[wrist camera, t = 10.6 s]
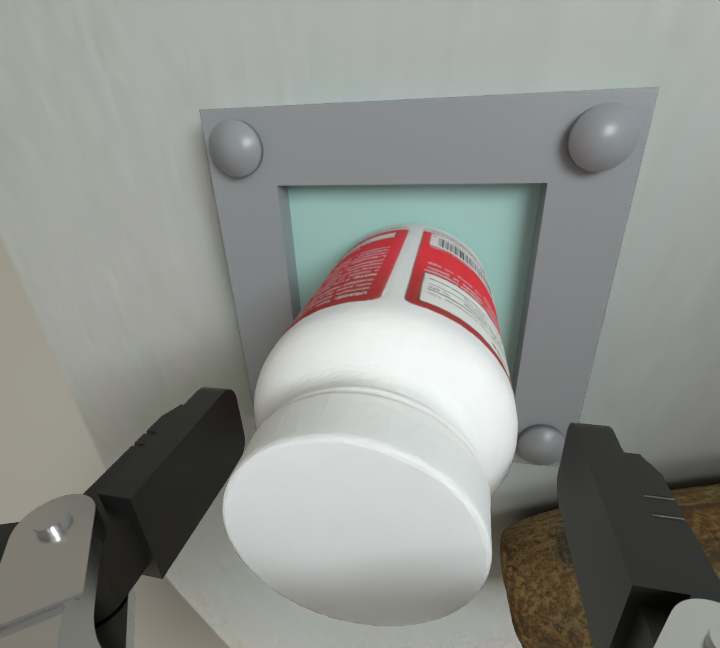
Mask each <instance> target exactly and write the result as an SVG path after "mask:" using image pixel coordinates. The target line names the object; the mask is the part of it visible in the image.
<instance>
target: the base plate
mask: <svg viewBox="0 0 720 648" xmlns="http://www.w3.org/2000/svg"><path fill="white" fill-rule="evenodd" d="M658 91H659V87H644V88H624V89H604V90H584V91H564V92H544V93H524V94H504V95H484V96H464V97H444V98H424V99H404V100H384V101H364V102H344V103H324V104H304V105H284V106H264V107H244V108H224V109H204V110H199V112H200V117H201V123H202V128H203V134H204V139H205V145H206V150H207V155H208V161H209V166H210V172H211V177H212V183H213V188H214V194H215V199H216V205H217V210H218V216H219V221H220V227H221V232H222V238H223V243H224V249H225V254H226V260H227V265H228V270H229V276H230V281H231V287H232V292H233V298H234V303H235V309H236V314H237V320H238V325H239V331H240V336H241V342H242V347H243V353H244V358H245V364H246V369H247V375H248V380H249V385H250V391H251V396H252V402H253V407H254V396H255V389H256V385H257V381H258V378H259V375H260V371H261V369H262V367H263V364H264V363H265V361H266V359H267V357H268V356H269V354H270V352H271V351H272V349H273V348H274V346H275V345H276V343H277V342H278V341H279V339H280V338H281V336H282V335H283V334H284V332H285V331H286V330H287V329H288V327H289V326H290V325H291V323H292V322H293V321H294V319H295V318H296V317H297V316H298V314H299V313H300V312H301V311H302V309H303V308H304V307H305V305H306V304H307V303H308V301H309V300H310V299H311V297H312V296H313V295H314V294H315V292H316V291H317V290H318V288H319V287H320V286H321V284H322V283H323V282H324V281H325V279H326V278H327V277H328V275H329V274H330V273H331V271H332V270H333V269H334V268H335V266H336V265H337V264H338V262H339V261H340V260H341V259H342V257H343V256H344V255H345V254H346V253H347V252H348V250H349V249H350V248H351V247H352V246H353V245H355V244H356V243H357V242H358V241H359V240H361V239H362V238H363V237H365V236H366V235H368V234H370V233H372V232H374V231H376V230H378V229H381V228H384V227H388V226H392V225H397V224H422V225H427V226H432V227H436V228H438V229H441V230H444V231H446V232H448V233H450V234H451V235H453V236H455V237H456V238H458V239H459V240H461V241H462V242H463V243H464V244H465V245H466V246H468V247H469V248H470V249H471V250H472V252H473V253H474V254H475V255H476V256H477V258H478V259H479V261H480V262H481V264H482V266H483V268H484V270H485V272H486V275H487V277H488V281H489V284H490V287H491V291H492V295H493V300H494V303H495V309H496V314H497V319H498V324H499V328H500V334H501V339H502V343H503V347H504V352H505V357H506V361H507V366H508V370H509V375H510V380H511V384H512V388H513V392H514V399H515V405H516V412H517V419H518V434H517V444H516V449H515V453H514V457H513V460H512V462H519V463H527V464H535V465H545V466H553V467H560V462H561V457H562V452H563V447H564V443H565V438H566V433H567V429H568V426H569V424H570V423H579V418H580V414H581V410H582V406H583V402H584V398H585V394H586V389H587V385H588V381H589V377H590V373H591V369H592V365H593V360H594V356H595V352H596V348H597V344H598V340H599V335H600V331H601V327H602V323H603V319H604V315H605V311H606V306H607V302H608V298H609V294H610V290H611V286H612V282H613V277H614V273H615V269H616V265H617V261H618V257H619V253H620V248H621V244H622V240H623V236H624V232H625V228H626V223H627V219H628V215H629V211H630V207H631V203H632V199H633V194H634V190H635V186H636V182H637V178H638V174H639V170H640V165H641V161H642V157H643V153H644V149H645V145H646V140H647V136H648V132H649V128H650V124H651V120H652V116H653V111H654V107H655V103H656V99H657V95H658Z"/></svg>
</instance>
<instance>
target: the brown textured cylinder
mask: <svg viewBox="0 0 720 648" xmlns="http://www.w3.org/2000/svg"><path fill="white" fill-rule="evenodd" d="M670 491H671V493H672V495H673V496H674V502H677V504H678V506H679V507H680V509H681V511H682V513H683V515H684V516H685V522H688V524H689V525H690V527H691V529H692V531H693V533H694V535H695V536H696V538H697V540H698V542H699V544H700V545H701V547H702V549H703V551H704V553H705V555H706V556H707V558H708V560H709V562H710V564H711V565H712V567H713V569H714V571H715V573H716V575H717V576H718V578H719V580H720V484H715V485H708V486H698V487H691V488H682V489H674V490H670ZM500 557H501V566H502V574H503V579H504V584H505V588H506V592H507V598H508V603H509V608H510V613H511V618H512V623H513V626H514V630H515V632H516V635H517V637H518V639H519V641H520V642H521V645H522V647H523V648H593V644H592V640H591V636H590V632H589V628H588V624H587V619H586V615H585V611H584V607H583V603H582V599H581V595H580V591H579V587H578V582H577V578H576V574H575V570H574V566H573V562H572V558H571V554H570V549H569V545H568V541H567V537H566V533H565V529H564V525H563V521H562V517H561V512H560V508H559V509H555V510H551V511H548V512H544V513H541V514H537V515H534V516H532V517H529V518H526V519H523V520H520V521H518V522H516V523H513V524H511V525H510V526H508V527H507V528H506V529H505V530H504V531H503V533H502V535H501V540H500Z"/></svg>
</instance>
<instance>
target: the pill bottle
mask: <svg viewBox="0 0 720 648" xmlns="http://www.w3.org/2000/svg"><path fill="white" fill-rule="evenodd" d="M254 419H255V427H256V432H255V433H254V435H253V436H252V438H251V440H250V442H249V444H248V446H247V448H246V450H245V452H244V453H243V455H242V457H241V458H240V460H239V462H238V464H237V465H236V467H235V469H234V470H233V472H232V474H231V476H230V478H229V480H228V483H227V485H226V489H225V492H224V496H223V506H222V513H223V520H224V526H225V529H226V532H227V534H228V537H229V539H230V541H231V543H232V545H233V547H234V549H235V550H236V552H237V553H238V555H239V557H240V558H241V559H242V560H243V562H244V563H245V564H246V565H247V566H248V567H249V568H250V569H251V570H252V571H253V572H254V573H255V574H256V575H257V577H258V578H260V579H261V580H262V581H263V582H264V583H265V584H267V585H268V586H269V587H271V588H272V589H274V590H275V591H276V592H278V593H279V594H281V595H283V596H284V597H286V598H288V599H289V600H291V601H293V602H295V603H297V604H299V605H300V606H303V607H305V608H307V609H310V610H312V611H315V612H317V613H320V614H323V615H326V616H328V617H331V618H335V619H339V620H343V621H348V622H354V623H360V624H367V625H374V626H403V625H412V624H419V623H424V622H428V621H432V620H436V619H439V618H442V617H444V616H447V615H449V614H451V613H453V612H455V611H456V610H458V609H460V608H461V607H463V606H464V605H466V604H467V603H468V602H469V601H470V600H471V599H473V598H474V597H475V595H476V594H477V593H478V592H479V590H480V589H481V588H482V586H483V584H484V583H485V581H486V579H487V577H488V574H489V570H490V566H491V562H492V540H491V511H490V508H491V497H490V496H491V495H492V494H493V493H494V492H495V491H496V490H497V488H498V487H499V485H500V484H501V483H502V481H503V479H504V478H505V476H506V474H507V472H508V470H509V468H510V466H511V463H512V460H513V457H514V453H515V449H516V444H517V434H518V419H517V412H516V405H515V399H514V392H513V388H512V384H511V380H510V375H509V370H508V366H507V361H506V357H505V352H504V347H503V343H502V339H501V334H500V328H499V324H498V319H497V314H496V309H495V303H494V300H493V295H492V291H491V287H490V284H489V281H488V277H487V275H486V272H485V270H484V268H483V266H482V264H481V262H480V261H479V259H478V258H477V256H476V255H475V254H474V253H473V252H472V250H471V249H470V248H469V247H468V246H466V245H465V244H464V243H463V242H462V241H461V240H459V239H458V238H456V237H455V236H453V235H451V234H450V233H448V232H446V231H444V230H441V229H438V228H436V227H432V226H427V225H422V224H397V225H392V226H388V227H384V228H381V229H378V230H376V231H374V232H372V233H370V234H368V235H366V236H365V237H363V238H362V239H361V240H359V241H358V242H357V243H356V244H355V245H353V246H352V247H351V248H350V249H349V250H348V252H347V253H346V254H345V255H344V256H343V257H342V259H341V260H340V261H339V262H338V264H337V265H336V266H335V268H334V269H333V270H332V271H331V273H330V274H329V275H328V277H327V278H326V279H325V281H324V282H323V283H322V284H321V286H320V287H319V288H318V290H317V291H316V292H315V294H314V295H313V296H312V297H311V299H310V300H309V301H308V303H307V304H306V305H305V307H304V308H303V309H302V311H301V312H300V313H299V314H298V316H297V317H296V318H295V319H294V321H293V322H292V323H291V325H290V326H289V327H288V329H287V330H286V331H285V332H284V334H283V335H282V336H281V338H280V339H279V341H278V342H277V343H276V345H275V346H274V348H273V349H272V351H271V352H270V354H269V356H268V357H267V359H266V361H265V363H264V364H263V367H262V369H261V371H260V375H259V378H258V381H257V385H256V389H255V396H254Z"/></svg>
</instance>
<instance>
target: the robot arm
mask: <svg viewBox="0 0 720 648" xmlns="http://www.w3.org/2000/svg"><path fill="white" fill-rule="evenodd" d="M244 445H245V436H244V431H243V426H242V422H241V417H240V412H239V408H238V403H237V399H236V395H235V393H234V392H233V391H232V390H229V389H219V388H208V387H203V388H201V389H199V390H198V391H197V392H196V393H195V394H194V395H193V396H192V397H191V398H190V399H189V400H188V401H187V402H186V403H185V404H184V405H180V406H178V407H176V408H175V409H173V410H171V411H170V412H168V413H166V414H165V415H163V416H161V417H160V418H159V419H158V420H157V421H156V422H155V423H154V424H153V425H152V426H151V427H150V428H149V429H148V430H147V433H146V434H143V435H142V436H141V437H140V438H139V439H138V440H137V441H136V442H135V445H134V446H131V447H130V448H129V449H128V450H127V451H126V452H125V453H124V454H123V455H122V456H121V457H120V458H119V459H118V460H117V461H116V462H115V463H114V464H113V465H112V466H111V467H110V468H109V469H108V470H107V471H106V472H105V473H104V474H103V475H102V476H101V477H100V478H99V479H98V480H97V481H96V482H95V483H94V484H93V485H92V486H91V487H90V488H89V489H88V490H87V491H86V492H85V493H84V494H72V495H66V496H62V497H59V498H56V499H53V500H51V501H49V502H47V503H45V504H43V505H41V506H39V507H38V508H36V509H35V510H33V511H32V512H31V513H29V514H28V515H27V516H26V517H25V518H23V520H21V521H20V522H16V523H8V524H1V525H0V648H134V634H135V603H136V602H135V600H136V596H135V591H134V588H133V586H134V585H135V583H136V582H137V580H138V579H139V578H140V576H141V575H146V576H151V577H156V578H161V579H163V577H164V576H165V574H166V573H167V571H168V570H169V568H170V567H171V565H172V563H173V562H174V560H175V559H176V557H177V556H178V554H179V553H180V551H181V550H182V548H183V547H184V545H185V544H186V542H187V541H188V539H189V537H190V536H191V534H192V533H193V531H194V530H195V528H196V527H197V525H198V524H199V522H200V521H201V519H202V518H203V516H204V515H205V513H206V511H207V510H208V508H209V507H210V505H211V504H212V502H213V501H214V499H215V498H216V496H217V495H218V493H219V492H220V490H221V488H222V487H223V485H224V484H225V482H226V481H227V479H228V478H229V476H230V475H231V473H232V472H233V470H234V469H235V467H236V465H237V464H238V462H239V460H240V458H241V457H242V454H243V451H244ZM557 497H558V504H559V508H560V512H561V517H562V521H563V525H564V529H565V533H566V537H567V541H568V545H569V549H570V554H571V558H572V562H573V566H574V570H575V574H576V578H577V582H578V587H579V591H580V595H581V599H582V603H583V607H584V611H585V615H586V619H587V624H588V628H589V632H590V636H591V640H592V644H593V648H720V580H719V578H718V576H717V575H716V573H715V571H714V569H713V567H712V565H711V564H710V562H709V560H708V558H707V556H706V555H705V553H704V551H703V549H702V547H701V545H700V544H699V542H698V540H697V538H696V536H695V535H694V533H693V531H692V529H691V527H690V525H689V524H688V522H685V516H684V515H683V513H682V511H681V509H680V507H679V506H678V504H677V502H674V496H673V495H672V493H671V491H670V489H669V487H668V486H667V484H666V482H665V480H664V478H663V476H662V475H661V474H660V473H659V472H658V471H657V470H656V469H655V468H654V467H653V466H652V465H651V464H649V463H648V462H647V461H646V460H645V459H644V458H643V457H642V456H641V455H640V454H633V453H624V452H623V450H622V448H621V446H620V444H619V442H618V440H617V437H616V435H615V433H614V431H613V429H612V428H611V427H609V426H601V425H591V424H580V423H570V424H569V426H568V429H567V433H566V438H565V443H564V447H563V452H562V457H561V462H560V467H559V471H558V477H557Z"/></svg>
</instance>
